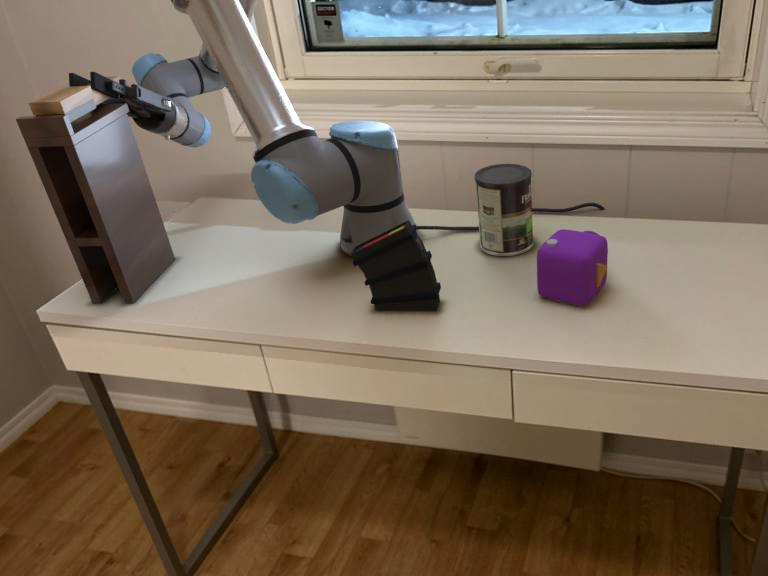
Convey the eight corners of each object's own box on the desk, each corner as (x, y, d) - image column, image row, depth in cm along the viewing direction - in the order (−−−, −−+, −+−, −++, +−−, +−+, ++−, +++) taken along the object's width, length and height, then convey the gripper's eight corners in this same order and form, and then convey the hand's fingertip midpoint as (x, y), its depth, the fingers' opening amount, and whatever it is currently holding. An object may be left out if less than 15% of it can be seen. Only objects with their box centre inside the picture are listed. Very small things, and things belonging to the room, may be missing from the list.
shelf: (177, 257, 148) (121, 85, 130) (134, 303, 134) (63, 117, 115) (139, 257, 149) (78, 87, 131) (92, 303, 135) (15, 119, 116)
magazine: (455, 303, 122) (406, 227, 115) (389, 332, 127) (338, 261, 120) (459, 292, 125) (411, 217, 118) (394, 321, 130) (344, 250, 123)
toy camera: (614, 272, 131) (616, 218, 125) (598, 311, 120) (600, 255, 115) (554, 266, 134) (553, 214, 129) (533, 304, 124) (531, 249, 118)
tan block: (130, 89, 135) (123, 68, 133) (68, 124, 118) (59, 101, 116) (102, 91, 135) (94, 70, 133) (37, 125, 119) (27, 102, 117)
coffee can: (537, 233, 146) (535, 163, 138) (529, 257, 138) (526, 184, 130) (485, 232, 148) (480, 162, 140) (474, 256, 140) (468, 183, 132)
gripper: (198, 132, 148) (128, 101, 125) (121, 135, 150) (38, 105, 127) (196, 93, 148) (126, 55, 124) (119, 97, 150) (36, 59, 126)
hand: (82, 80), depth 126 cm, fingers closed on tan block, 3 cm apart
